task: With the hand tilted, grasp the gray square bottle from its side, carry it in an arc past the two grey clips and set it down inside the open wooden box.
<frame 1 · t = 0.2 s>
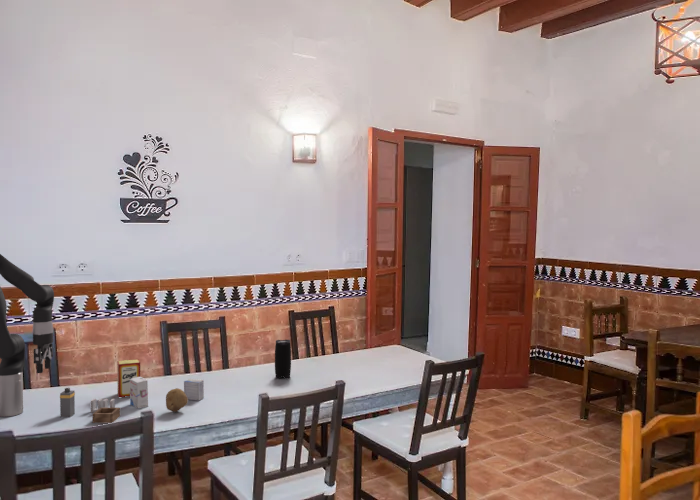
hand: (43, 370, 231), 18 cm above the table, tool pointing down, fingers open, 8 cm apart
clip 1: (96, 411, 235), on the table
clip 2: (108, 411, 235), on the table
medicine box: (193, 399, 253), on the table
portable speaker: (282, 377, 292), on the table
natural sponge: (176, 412, 235), on the table
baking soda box: (129, 395, 259), on the table
gray square bottle: (67, 415, 230), on the table
ink box: (138, 405, 244), on the table
open wooden box: (106, 419, 225), on the table
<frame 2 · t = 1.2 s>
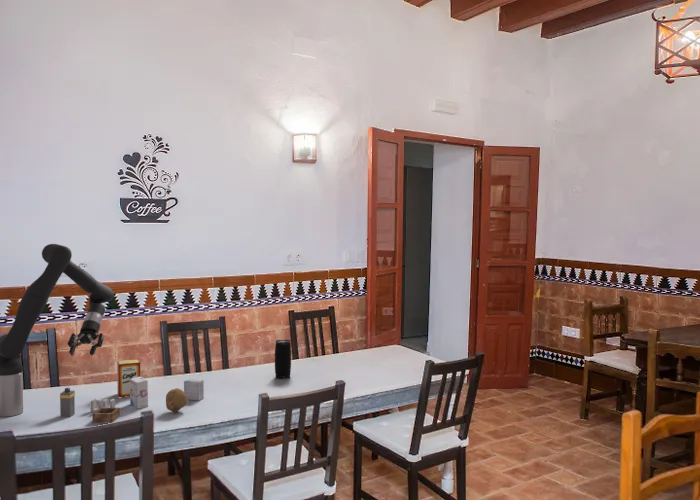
hand: (81, 354, 242), 23 cm above the table, tool tilted 45°, fingers open, 8 cm apart
nothing on the table moved.
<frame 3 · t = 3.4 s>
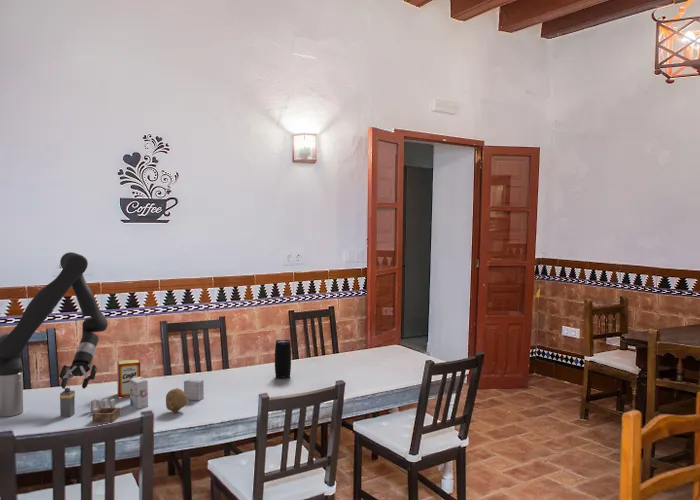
hand: (73, 387, 234), 10 cm above the table, tool tilted 45°, fingers open, 8 cm apart
nothing on the table moved.
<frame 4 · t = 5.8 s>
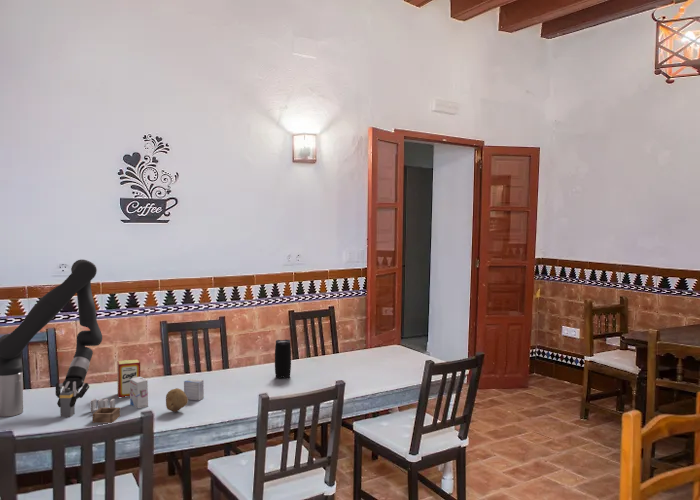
hand: (65, 406, 227), 5 cm above the table, tool tilted 45°, fingers closed on gray square bottle, 4 cm apart
gray square bottle: (67, 415, 230), on the table, touching gripper
everything else where it was.
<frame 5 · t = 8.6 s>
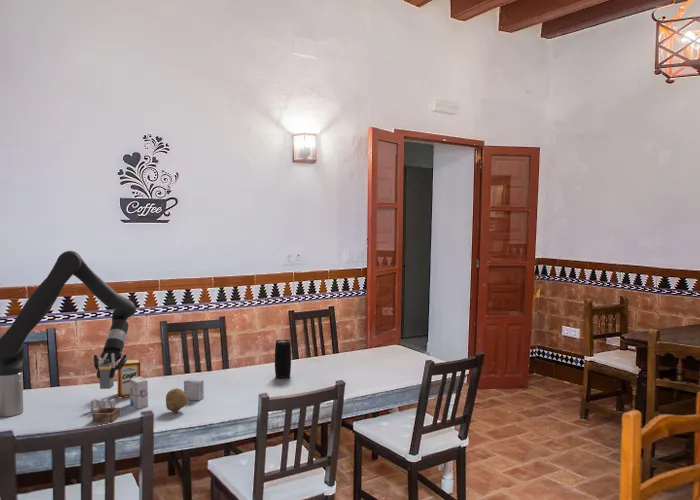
hand: (104, 377, 224), 17 cm above the table, tool tilted 45°, fingers closed on gray square bottle, 4 cm apart
gray square bottle: (106, 387, 226), point 13 cm above the table, touching gripper
everything else where it was.
when the fingers open (6 cm above the table, at t = 11.7 s): gray square bottle drops 1 cm, resting on open wooden box.
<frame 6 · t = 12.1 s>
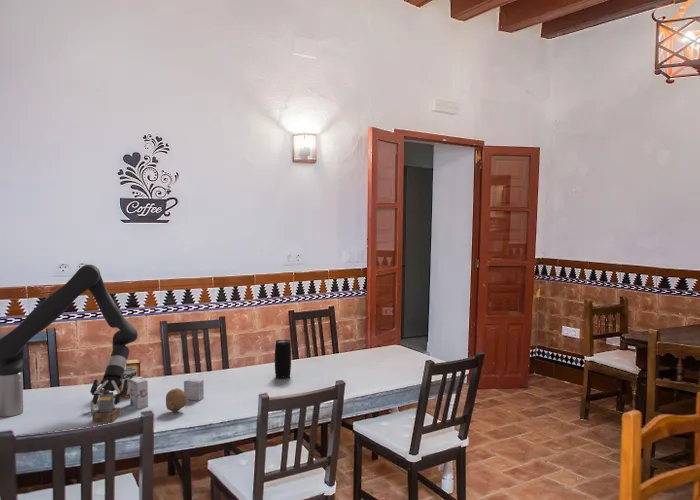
hand: (105, 403, 224), 7 cm above the table, tool tilted 45°, fingers open, 8 cm apart
gray square bottle: (106, 417, 225), point 1 cm above the table, touching open wooden box
everything else where it was.
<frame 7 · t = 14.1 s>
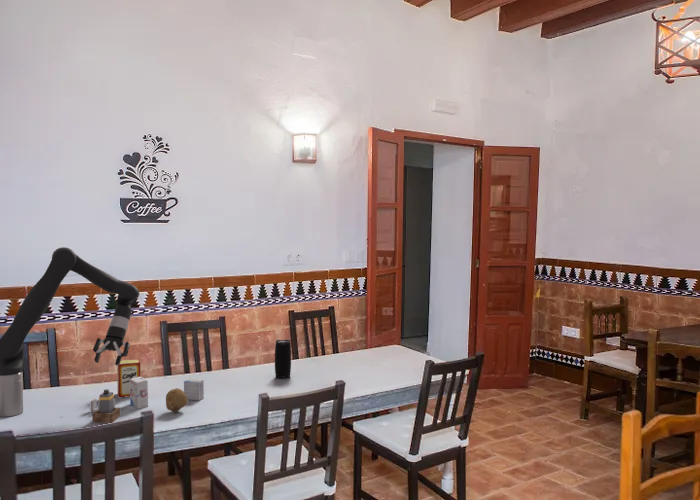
hand: (106, 363, 236), 20 cm above the table, tool tilted 30°, fingers open, 8 cm apart
nothing on the table moved.
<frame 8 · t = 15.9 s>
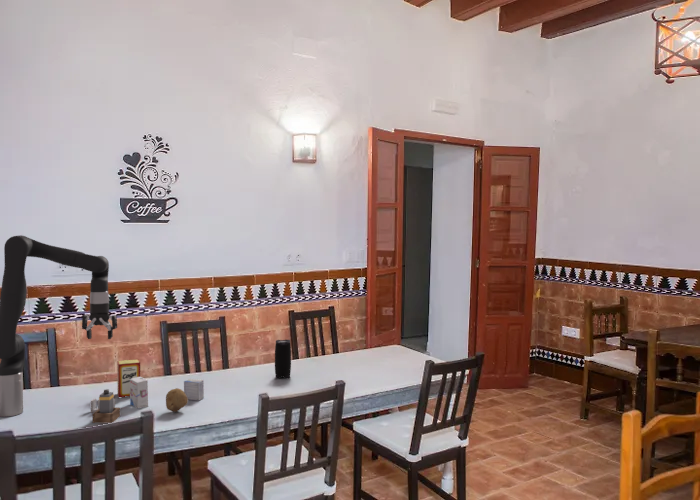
hand: (99, 338, 240), 30 cm above the table, tool pointing down, fingers open, 8 cm apart
nothing on the table moved.
at the end: gray square bottle 0.1 cm off-centre on the open wooden box, point 0.6 cm above the open wooden box's base; gray square bottle tilted 0°; the gripper is holding nothing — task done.
